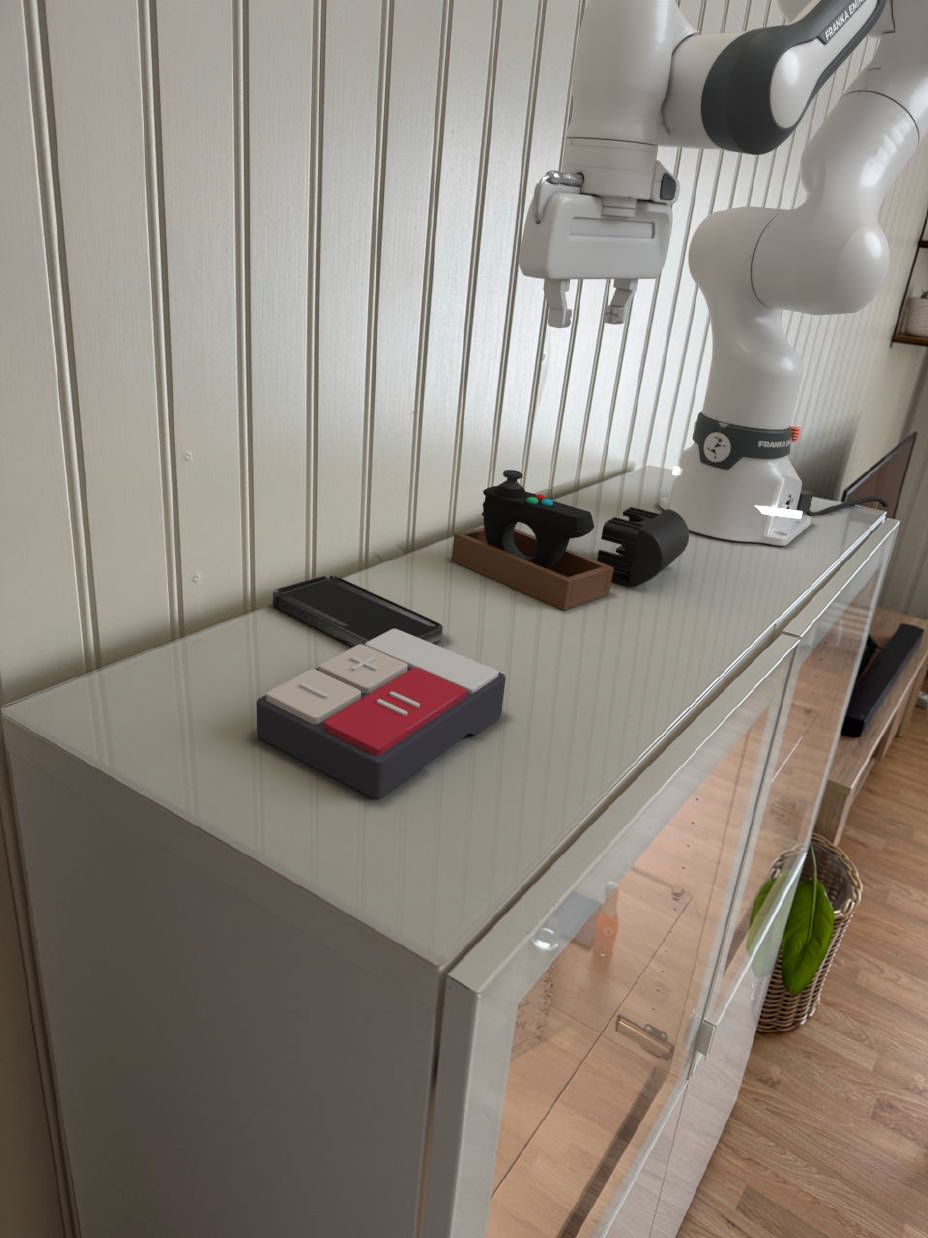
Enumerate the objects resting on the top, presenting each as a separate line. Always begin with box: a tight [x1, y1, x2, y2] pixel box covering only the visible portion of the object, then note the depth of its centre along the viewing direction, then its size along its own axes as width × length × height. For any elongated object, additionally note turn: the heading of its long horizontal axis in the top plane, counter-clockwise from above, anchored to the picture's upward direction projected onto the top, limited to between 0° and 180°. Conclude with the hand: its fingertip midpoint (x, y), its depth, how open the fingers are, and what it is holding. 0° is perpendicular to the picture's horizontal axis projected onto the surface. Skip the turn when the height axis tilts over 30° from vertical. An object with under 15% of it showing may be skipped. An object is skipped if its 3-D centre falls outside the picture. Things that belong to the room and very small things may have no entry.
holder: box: [451, 526, 614, 611], centre depth 98 cm, size 8×16×3 cm, turn 46°
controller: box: [481, 469, 595, 568], centre depth 96 cm, size 4×12×10 cm, turn 56°
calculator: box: [256, 629, 507, 800], centre depth 66 cm, size 11×4×15 cm
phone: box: [272, 575, 444, 648], centre depth 83 cm, size 8×1×15 cm
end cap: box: [596, 506, 690, 588], centre depth 102 cm, size 10×7×7 cm
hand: (587, 325), depth 95 cm, fingers open, 8 cm apart
